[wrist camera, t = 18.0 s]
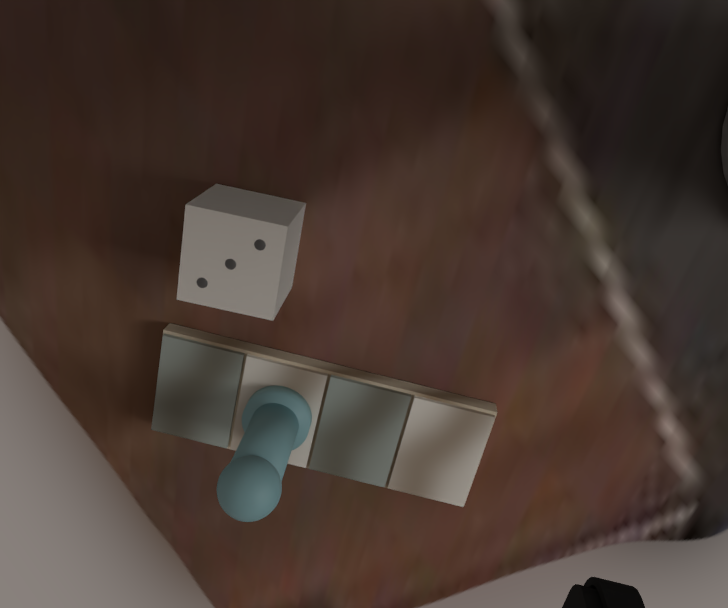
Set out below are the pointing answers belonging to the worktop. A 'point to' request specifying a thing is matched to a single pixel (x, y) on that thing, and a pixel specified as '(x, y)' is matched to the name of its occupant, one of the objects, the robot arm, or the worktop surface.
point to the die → (239, 250)
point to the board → (326, 414)
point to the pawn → (263, 452)
